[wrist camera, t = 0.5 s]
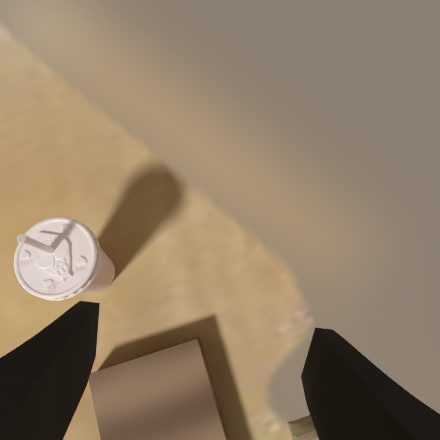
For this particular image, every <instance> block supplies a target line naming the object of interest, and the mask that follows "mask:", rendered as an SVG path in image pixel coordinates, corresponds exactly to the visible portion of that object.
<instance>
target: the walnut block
mask: <svg viewBox="0 0 440 440" xmlns="http://www.w3.org/2000/svg"><path fill="white" fill-rule="evenodd" d="M89 383H90V388H91V393H92V398H93V403H94V408H95V413H96V417H97V422H98V427H99V432H100V437H101V440H228V437H227V433H226V430H225V426H224V423H223V419H222V416H221V412H220V409H219V405H218V402H217V398H216V395H215V391H214V388H213V384H212V381H211V377H210V374H209V370H208V367H207V363H206V360H205V356H204V353H203V349H202V346H201V342H200V339H199V338H196V339H193V340H190V341H187V342H184V343H181V344H178V345H175V346H172V347H169V348H166V349H162V350H159V351H156V352H153V353H150V354H147V355H144V356H141V357H138V358H135V359H132V360H129V361H126V362H123V363H120V364H117V365H114V366H111V367H108V368H104V369H101V370H98V371H96V372H93V373H90V376H89Z"/></svg>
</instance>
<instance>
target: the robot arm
mask: <svg viewBox="0 0 440 440" xmlns="http://www.w3.org/2000/svg"><path fill="white" fill-rule="evenodd" d="M99 304H100V303H93V302H84V301H79V302H78V303H77V304H75V305H74V306H73V307H71V308H70V309H69V310H68V311H66V312H65V313H64V314H63V315H61V316H60V317H59V318H57V319H56V320H55V321H54V322H52V323H51V324H50V325H48V326H47V327H46V328H44V329H43V330H42V331H40V332H39V333H38V334H36V335H35V336H33V337H32V338H31V339H29V340H28V341H26V342H25V343H23V344H22V345H20V346H19V347H17V348H16V349H14V350H13V351H11V352H10V353H8V354H6V355H5V356H3V357H1V358H0V440H63V438H64V435H65V433H66V431H67V429H68V426H69V424H70V422H71V420H72V417H73V415H74V413H75V411H76V408H77V406H78V404H79V402H80V399H81V397H82V395H83V393H84V390H85V388H86V386H87V382H88V379H89V376H90V373H91V370H92V366H93V363H94V360H95V356H96V344H97V331H98V317H99ZM301 378H302V383H303V388H304V393H305V398H306V402H307V406H308V409H309V412H310V415H311V418H312V421H313V424H314V427H315V430H316V432H317V435H318V438H319V440H440V414H438V413H437V412H436V411H434V410H433V409H431V408H430V407H428V406H427V405H425V404H424V403H422V402H421V401H419V400H418V399H417V398H415V397H414V396H413V395H411V394H410V393H409V392H407V391H406V390H404V389H403V388H402V387H401V386H400V385H398V384H397V383H396V382H394V381H393V380H392V379H391V378H389V377H388V376H387V375H386V374H384V373H383V372H382V371H381V370H380V369H379V368H377V367H376V366H375V365H374V364H373V363H371V362H370V361H369V360H368V359H367V358H366V357H365V356H363V355H362V354H361V353H360V352H359V351H358V350H356V349H355V348H354V347H353V346H352V345H351V344H350V343H348V342H347V341H346V340H345V339H344V338H342V337H341V336H340V335H339V334H337V333H336V332H335V331H334V330H331V329H322V328H315V331H314V334H313V338H312V341H311V345H310V348H309V351H308V355H307V358H306V362H305V365H304V369H303V372H302V375H301Z"/></svg>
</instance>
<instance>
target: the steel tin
mask: <svg viewBox="0 0 440 440" xmlns="http://www.w3.org/2000/svg"><path fill="white" fill-rule="evenodd" d="M287 424H288V427H289V430H290V433H291V436H292V439H293V440H319V438H318V435H317V432H316V430H315V427H314V424H313V421H312V418H311V415H309V416H306V417H303V418H300V419H298V420H295V421H292V422H289V423H287Z"/></svg>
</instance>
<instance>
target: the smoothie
mask: <svg viewBox="0 0 440 440" xmlns="http://www.w3.org/2000/svg"><path fill="white" fill-rule="evenodd" d="M17 241H18V242H19V244H18V246H17V249H16V252H15V257H14V269H15V274H16V276H17V279H18V281H19V282H20V284H21V285H22V287H23V288H24V289H25V290H26V291H28V292H29V293H31V294H32V295H35V296H37V297H40V298H43V299H47V300H63V299H68V298H71V297H73V296H75V295H77V294H81V293H90V292H98V291H102V290H104V289H106V288H107V287H108V286H110V284H111V283H112V282H113V280H114V277H115V267H114V264H113V262H112V261H111V260H110V258H109V257H108V256H107V255H106V254H105V252H104V251H103V250H102V249H101V248H100V245H99V242H98V240H97V238H96V236H95V234H94V233H93V232H92V231H91V230H90V229H89V228H88V227H87V226H85V225H84V224H82V223H80V222H78V221H76V220H74V219H70V218H65V217H55V218H50V219H46V220H44V221H41V222H39V223H37V224H36V225H34V226H33V227H32V228H30V229H29V230H28V231H27V232H26V233H25V235H23V234H21V235H19V236H18V237H17Z"/></svg>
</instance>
